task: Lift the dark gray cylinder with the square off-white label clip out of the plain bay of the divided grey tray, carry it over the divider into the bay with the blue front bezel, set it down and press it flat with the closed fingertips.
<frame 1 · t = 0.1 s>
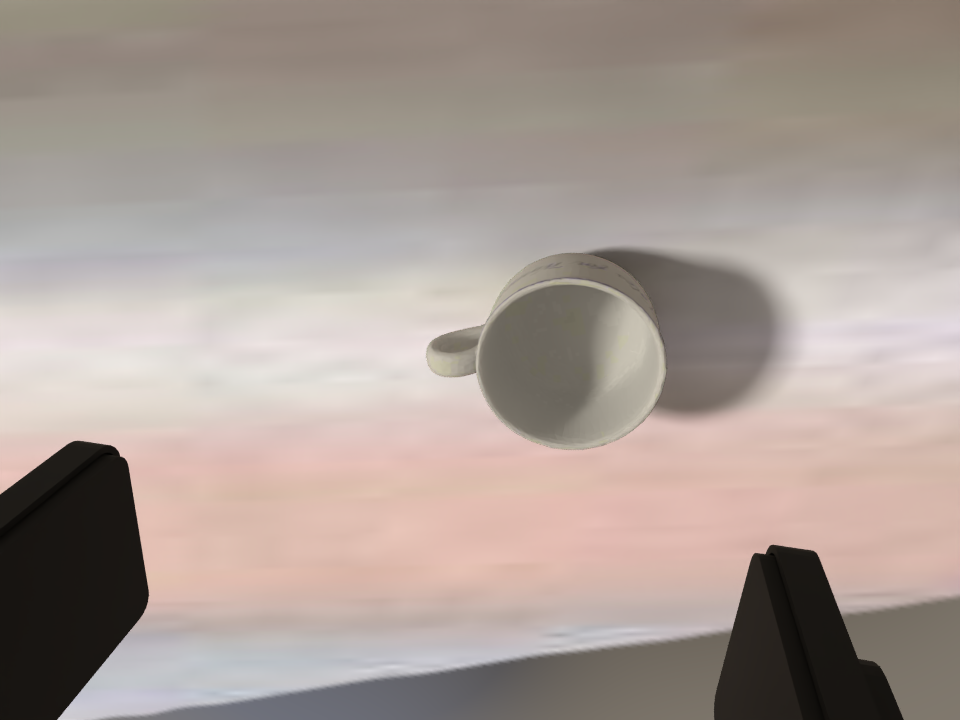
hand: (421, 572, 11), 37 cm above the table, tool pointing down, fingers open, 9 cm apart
teacup: (551, 316, 49), on the table
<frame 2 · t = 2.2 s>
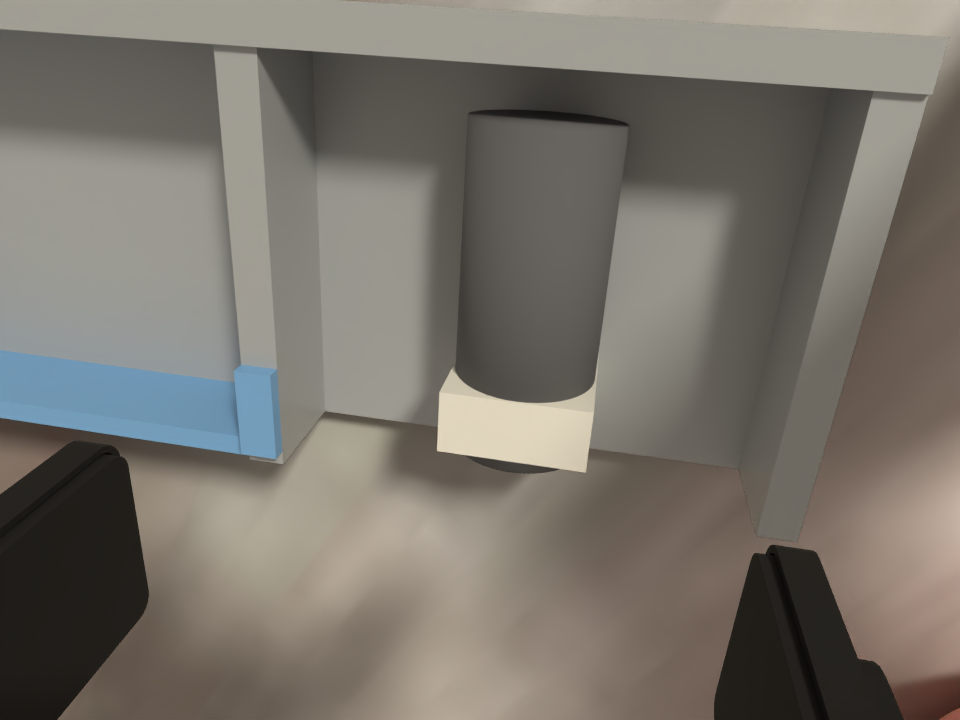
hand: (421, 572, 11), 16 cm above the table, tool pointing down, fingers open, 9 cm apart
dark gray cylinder: (532, 292, 22), point 3 cm above the table, touching divided grey tray
divided grey tray: (313, 221, 26), on the table
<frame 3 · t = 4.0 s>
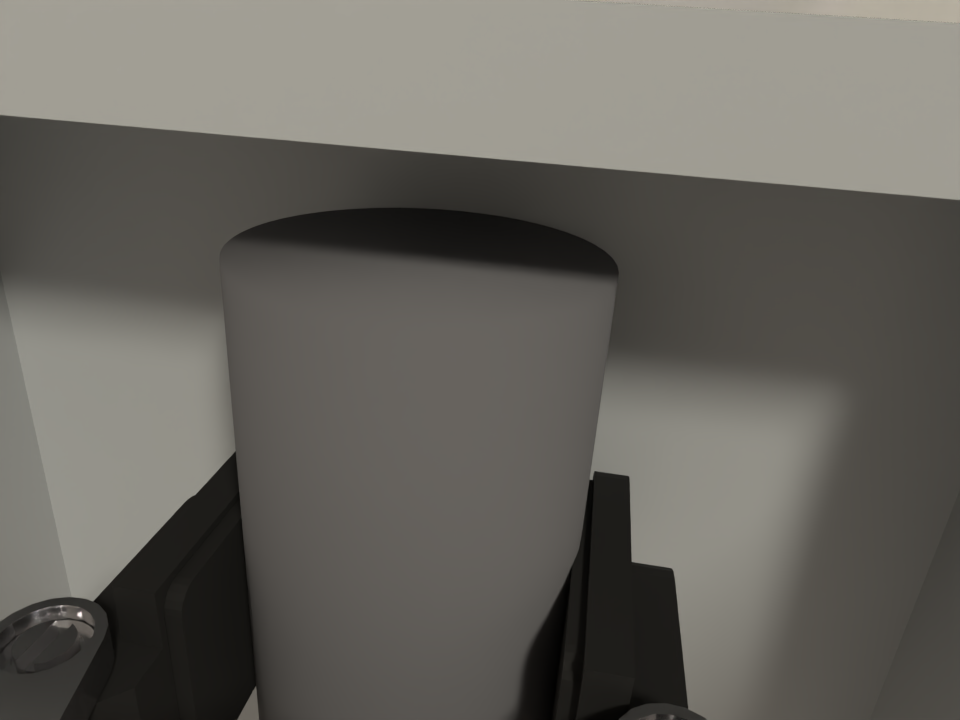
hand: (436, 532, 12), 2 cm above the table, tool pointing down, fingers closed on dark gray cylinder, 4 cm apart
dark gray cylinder: (413, 595, 10), point 3 cm above the table, touching divided grey tray, gripper
divided grey tray: (40, 386, 14), on the table
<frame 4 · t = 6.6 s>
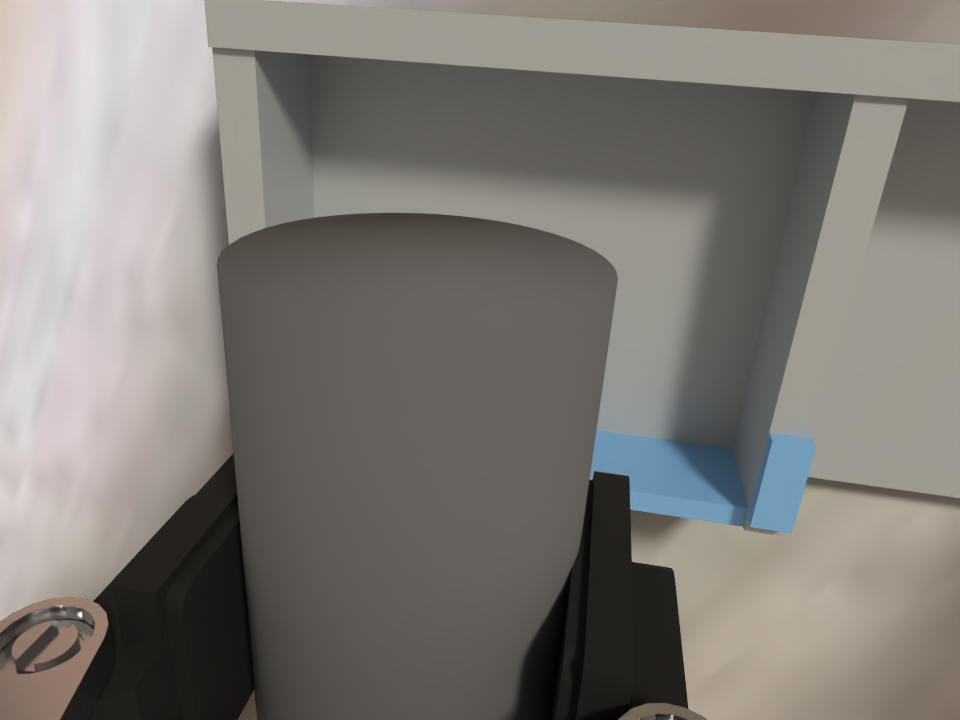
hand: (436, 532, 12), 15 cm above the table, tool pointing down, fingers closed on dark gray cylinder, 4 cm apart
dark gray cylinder: (412, 601, 10), point 17 cm above the table, touching gripper
divided grey tray: (785, 271, 24), on the table
when the fingers open (3 cm above the table, at t = 9.2 s): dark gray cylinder stays where it is, resting on divided grey tray.
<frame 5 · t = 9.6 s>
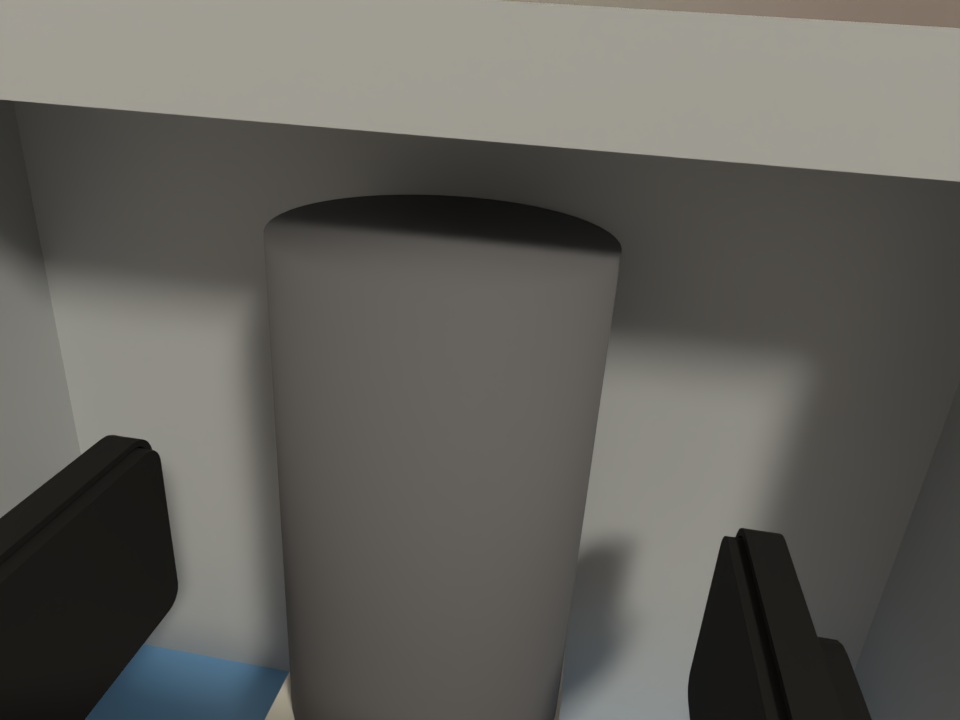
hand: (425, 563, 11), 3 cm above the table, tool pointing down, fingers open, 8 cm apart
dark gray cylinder: (431, 552, 11), point 3 cm above the table, touching divided grey tray
divided grey tray: (929, 481, 13), on the table
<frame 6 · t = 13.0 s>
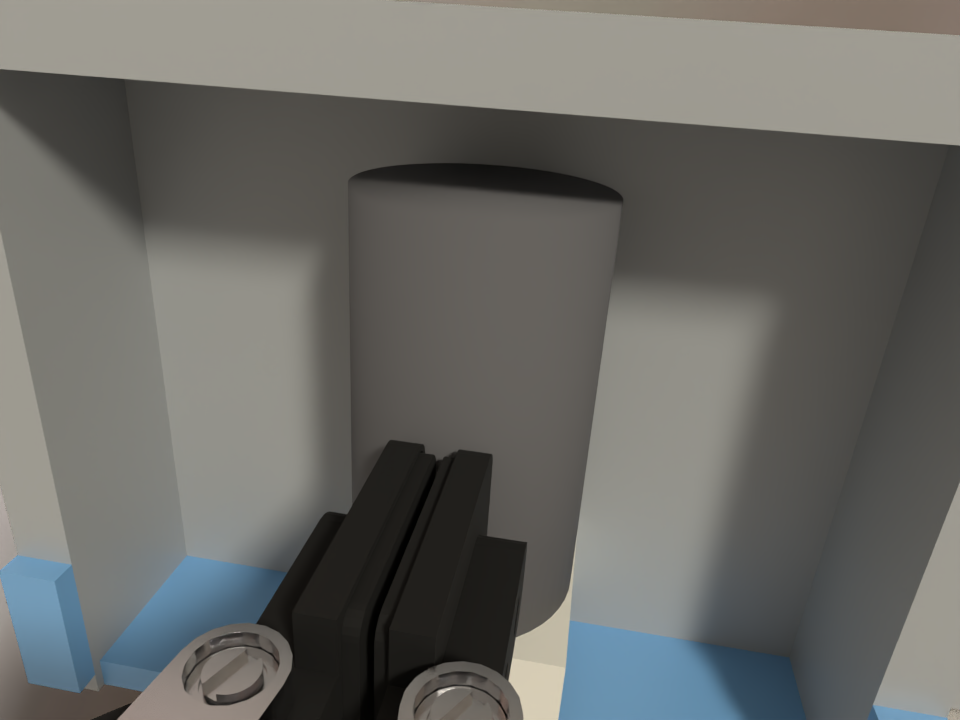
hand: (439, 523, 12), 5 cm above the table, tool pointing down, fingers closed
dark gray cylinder: (469, 453, 14), point 3 cm above the table, touching divided grey tray, gripper
divided grey tray: (878, 404, 16), on the table
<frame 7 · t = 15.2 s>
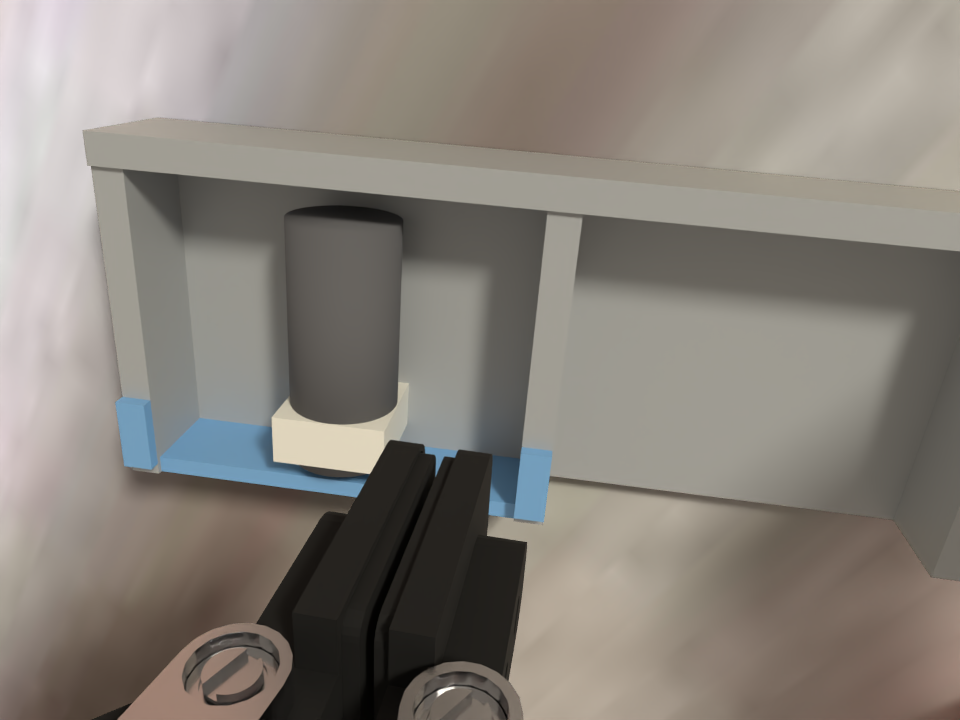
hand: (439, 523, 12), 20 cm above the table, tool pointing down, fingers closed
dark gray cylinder: (344, 341, 30), point 3 cm above the table, touching divided grey tray
divided grey tray: (551, 322, 32), on the table
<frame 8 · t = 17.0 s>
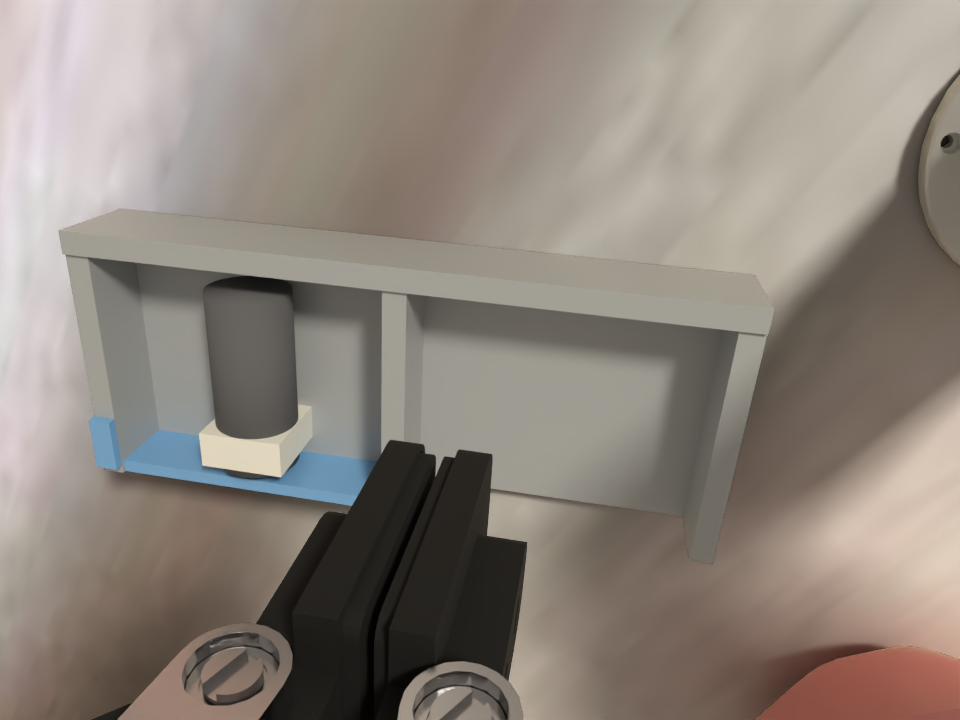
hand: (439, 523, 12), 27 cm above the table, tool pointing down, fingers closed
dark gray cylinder: (254, 376, 40), point 3 cm above the table, touching divided grey tray
cell model: (876, 701, 46), on the table
divided grey tray: (416, 361, 41), on the table
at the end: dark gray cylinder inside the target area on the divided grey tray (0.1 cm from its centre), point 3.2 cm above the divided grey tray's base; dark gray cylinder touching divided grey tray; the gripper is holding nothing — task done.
